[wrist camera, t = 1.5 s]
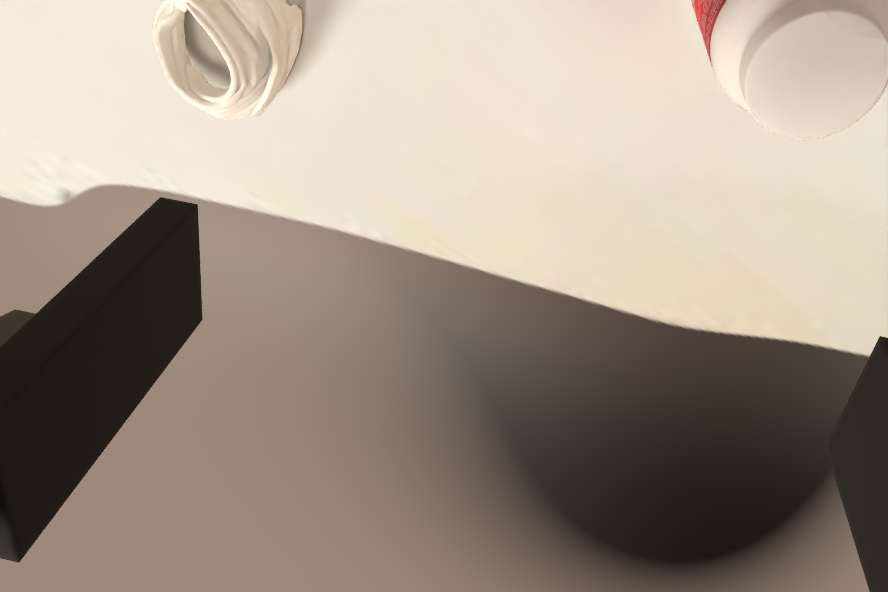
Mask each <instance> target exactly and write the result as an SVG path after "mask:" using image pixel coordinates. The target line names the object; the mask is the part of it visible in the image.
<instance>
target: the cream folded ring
mask: <svg viewBox="0 0 888 592" xmlns="http://www.w3.org/2000/svg"><path fill="white" fill-rule="evenodd" d="M187 9H188V10H189V11H190V12H191V14H192V15H193V16H194V17H195V19H196V20H197V21H198V22H199V24H200V25H201V26H202V27H203V29H204V30H205V31H206V32H207V33H208V34H209V36H210V37H211V39H212V40H213V41H214V43H215V44H216V46H217V47H218V49H219V50H220V52H221V54H222V55H223V57H224V59H225V61H226V63H227V65H228V68H229V71H230V75H231V83H230V87H229V89H220V88H216V87H214V86H212V85H211V84H210V83H209V82H208V81H207V79H206V78H205V76H204V75H203V74H202V73H201V72H200V71H199V70H198V69H196V68H195V67H193V66H192V64H191V62H190V59H189V57H188V54H187V50H186V41H185V33H184V17H185V12H186V10H187ZM302 27H303V22H302V12H301V7H300V6H296V5H295V4H294V5H292V6H290V5H288V4H287V3H286V2H285V1H284V0H162V2H161V4H160V6H159V8H158V10H157V13H156V16H155V19H154V22H153V38H154V43H155V46H156V49H157V52H158V56H159V59H160V62H161V65H162V68H163V71H164V73H165V76H166V78H167V80H168V81H169V83H170V84H171V85H172V86H173V88H174V89H175V90H176V91H178V92H179V93H180V94H181V95H182V96H183V97H184V99H185V100H186V101H187V102H189V103H190V104H192V105H193V106H195V107H197V108H200V109H203V110H205V111H206V112H207V113H209V114H211V115H212V116H214V117H217V118H220V119H237V118H244V117H248V116H251V115H252V116H256V115H260V114H261V113H263V112H264V110H265V109H266V108H267V106H268V105H269V104H270V103H271V101H272V100H273V98H274V97H275V95H276V94H277V92H278V91H279V90H280V89H281V88H282V86H283V84H284V82H285V81H286V79H287V77H288V75H289V72H290V71H291V69H292V66H293V63H294V61H295V59H296V56H297V54H298V50H299V46H300V40H301V35H302Z"/></svg>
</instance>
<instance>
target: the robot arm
mask: <svg viewBox="0 0 888 592" xmlns="http://www.w3.org/2000/svg"><path fill="white" fill-rule="evenodd" d="M198 228H199V226H198V205H197V204H192V203H187V202H182V201H177V200H172V199H166V198H159V199H158V200H157V201H156V202H155V203H154V204H153V205H152V206H151V207H150V208H149V209H147V210H146V211H145V212H144V213H143V214H142V215H141V216H140V217H139V218H138V219H137V220H136V221H135V222H134V223H133V224H131V225H130V227H128V228H127V229H126V230H125V231H124V232H123V233H122V234H121V235H120V236H119V237H118V238H117V239H115V240H114V241H113V242H112V243H111V244H110V245H109V246H108V247H107V248H106V249H105V250H104V251H103V252H102V253H101V254H99V255H98V256H97V257H96V258H95V259H94V260H93V261H92V262H91V263H90V264H89V265H88V266H87V267H86V268H85V269H83V271H81V272H80V273H79V274H78V275H77V276H76V277H75V278H74V279H73V280H72V281H71V282H70V283H69V284H67V285H66V286H65V287H64V288H63V289H62V290H61V291H60V292H59V293H58V294H57V295H56V296H55V297H54V298H52V299H51V301H49V302H48V303H47V304H46V305H45V306H44V307H43V308H42V309H41V310H40V311H39V312H38V313H36V314H34V313H29V312H24V311H20V310H13V311H11V312H9V313H7V314H5V315H3V316H1V317H0V558H2V559H6V560H11V561H15V562H20V560H21V559H22V558H23V557H24V555H25V554H26V553H27V551H28V550H29V549H30V547H31V546H32V545H33V543H34V542H35V541H36V539H37V538H38V537H39V535H40V534H41V533H42V531H43V530H44V529H45V527H46V526H47V525H48V523H49V522H50V521H51V519H52V518H53V517H54V516H55V514H56V513H57V512H58V510H59V509H60V508H61V506H62V505H63V504H64V502H65V501H66V500H67V498H68V497H69V496H70V494H71V493H72V492H73V490H74V489H75V487H76V486H77V485H78V484H79V482H80V481H81V480H82V478H83V477H84V476H85V474H86V473H87V472H88V470H89V469H90V468H91V466H92V465H93V464H94V462H95V461H96V460H97V459H98V457H99V456H100V455H101V453H102V452H103V451H104V449H105V448H106V447H107V445H108V444H109V443H110V441H111V440H112V439H113V437H114V436H115V435H116V433H117V432H118V431H119V429H120V428H121V427H122V425H123V424H124V423H125V421H126V420H127V419H128V417H129V416H130V415H131V413H132V412H133V411H134V409H135V408H136V406H137V405H138V404H139V403H140V401H141V400H142V399H143V398H144V396H145V395H146V393H147V392H148V391H149V390H150V388H151V387H152V385H153V384H154V383H155V381H156V380H157V379H158V378H159V376H160V375H161V374H162V372H163V371H164V370H165V368H166V367H167V366H168V364H169V363H170V362H171V360H172V359H173V358H174V356H175V355H176V354H177V352H178V351H179V350H180V348H181V347H182V346H183V344H184V343H185V342H186V340H187V339H188V338H189V336H190V335H191V334H192V332H193V331H194V330H195V329H196V327H197V326H198V325H199V323H200V322H201V321H202V301H201V275H200V251H199V229H198ZM826 451H827V454H828V457H829V460H830V464H831V467H832V470H833V473H834V477H835V480H836V483H837V486H838V490H839V493H840V496H841V499H842V503H843V506H844V509H845V512H846V516H847V519H848V522H849V525H850V529H851V532H852V535H853V539H854V542H855V545H856V548H857V552H858V555H859V558H860V561H861V564H862V568H863V571H864V574H865V578H866V581H867V584H868V587H869V591H870V592H888V338H886V337H881V336H880V337H879V339H878V341H877V343H876V345H875V347H874V349H873V351H872V353H871V355H870V357H869V360H868V362H867V364H866V366H865V368H864V370H863V372H862V374H861V376H860V378H859V380H858V382H857V384H856V386H855V388H854V390H853V392H852V394H851V396H850V398H849V400H848V402H847V404H846V406H845V408H844V410H843V412H842V414H841V416H840V418H839V420H838V423H837V424H836V426H835V428H834V430H833V433H832V435H831V437H830V439H829V441H828V443H827V445H826Z"/></svg>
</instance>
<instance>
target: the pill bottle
mask: <svg viewBox="0 0 888 592" xmlns="http://www.w3.org/2000/svg"><path fill="white" fill-rule="evenodd" d="M692 5H693V8H694V11H695V14H696V18H697V21H698V24H699V27H700V30H701V33H702V36H703V40H704V43H705V46H706V49H707V52H708V56H709V59H710V62H711V65H712V69H713V71H714V74H715V76H716V78H717V81H718V83H719V84H720V86H721V88H722V89H723V91H724V92H725V93H726V95H727V96H728V97H729V98H730V99H731V100H732V101H733V102H735V103H736V104H737V105H738V106H740V107H741V108H743V109H744V110H746V111H748V112H750V113H752V115H753V116H754V117H755V119H756V120H757V121H758V122H759V123H760V124H761V125H762V126H763V127H765V128H766V129H768V130H769V131H771V132H773V133H775V134H777V135H780V136H783V137H787V138H792V139H812V138H820V137H824V136H828V135H831V134H833V133H836V132H838V131H841V130H843V129H845V128H847V127H849V126H850V125H852V124H853V123H855V122H856V121H858V120H859V119H860V118H862V117H863V116H864V115H865V114H866V113H867V112H868V111H869V110H870V109H871V108H872V107H873V106H874V105H875V104H876V102H877V101H878V100H879V98H880V97H881V95H882V94H883V92H884V90H885V88H886V86H887V83H888V0H692Z"/></svg>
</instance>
